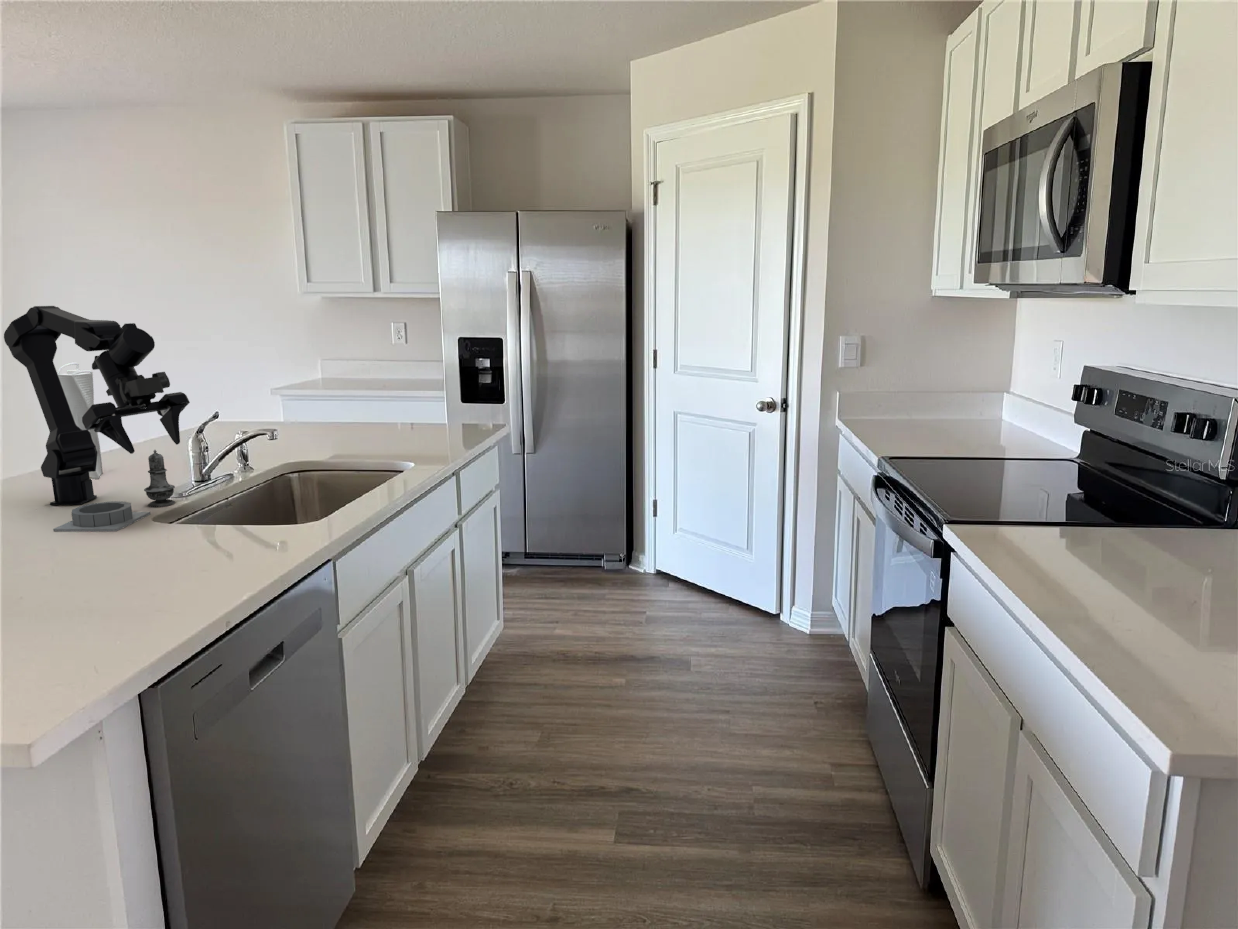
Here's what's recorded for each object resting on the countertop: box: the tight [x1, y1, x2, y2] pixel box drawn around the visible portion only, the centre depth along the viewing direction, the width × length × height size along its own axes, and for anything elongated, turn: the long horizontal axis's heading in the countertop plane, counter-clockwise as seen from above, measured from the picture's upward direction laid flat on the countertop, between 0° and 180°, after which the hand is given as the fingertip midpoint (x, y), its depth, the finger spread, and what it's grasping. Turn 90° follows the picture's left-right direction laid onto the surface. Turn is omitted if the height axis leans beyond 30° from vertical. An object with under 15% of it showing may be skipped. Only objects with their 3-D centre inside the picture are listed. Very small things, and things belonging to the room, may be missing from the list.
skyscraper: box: [57, 362, 103, 480], centre depth 200 cm, size 8×8×28 cm
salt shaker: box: [143, 449, 176, 508], centre depth 177 cm, size 6×6×12 cm
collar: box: [52, 500, 151, 532], centre depth 164 cm, size 12×12×3 cm
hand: (156, 448), depth 163 cm, fingers open, 9 cm apart
